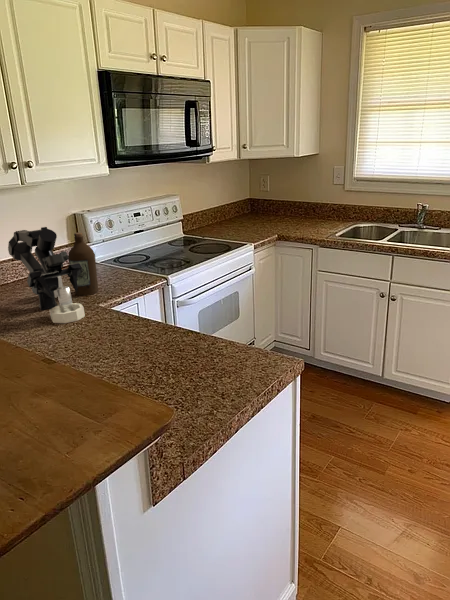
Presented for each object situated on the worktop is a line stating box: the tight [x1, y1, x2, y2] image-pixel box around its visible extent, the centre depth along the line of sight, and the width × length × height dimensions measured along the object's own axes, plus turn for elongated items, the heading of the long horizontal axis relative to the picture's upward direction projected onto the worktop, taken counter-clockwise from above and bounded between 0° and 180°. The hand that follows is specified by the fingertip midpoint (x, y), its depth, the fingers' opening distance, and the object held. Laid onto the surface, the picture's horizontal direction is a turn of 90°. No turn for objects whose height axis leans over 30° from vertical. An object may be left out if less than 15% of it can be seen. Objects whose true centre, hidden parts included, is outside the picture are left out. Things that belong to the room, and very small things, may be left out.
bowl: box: [49, 302, 86, 324], centre depth 171 cm, size 11×11×4 cm
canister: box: [57, 285, 73, 313], centre depth 169 cm, size 4×4×10 cm
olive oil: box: [67, 232, 99, 296], centre depth 197 cm, size 11×11×25 cm
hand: (64, 293), depth 168 cm, fingers open, 9 cm apart
